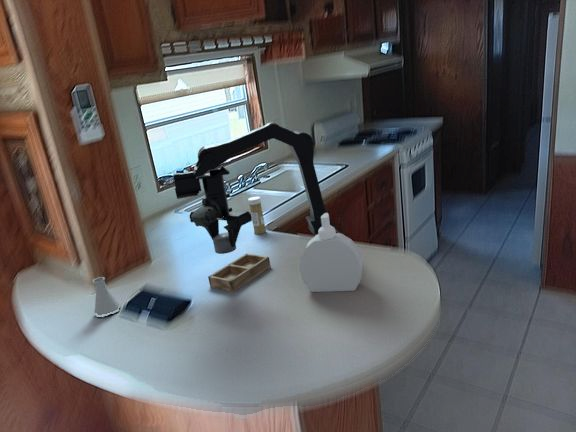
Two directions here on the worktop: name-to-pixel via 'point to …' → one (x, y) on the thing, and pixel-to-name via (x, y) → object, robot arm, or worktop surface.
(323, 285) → the soap bottle
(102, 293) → the flask
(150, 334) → the worktop surface
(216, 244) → the lid
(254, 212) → the sprinkles bottle
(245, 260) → the holder
